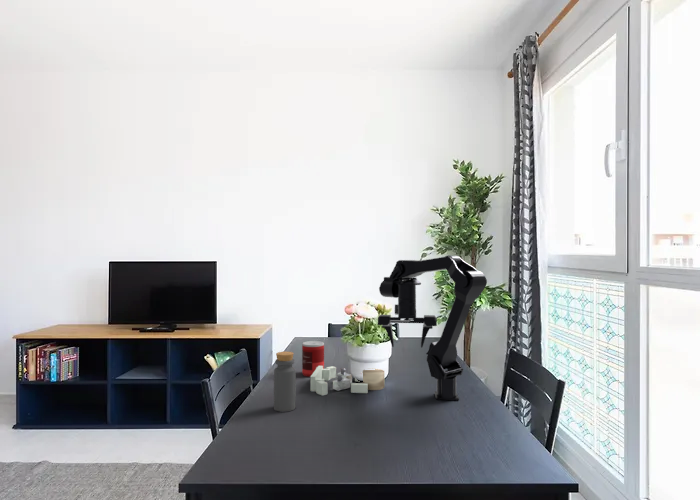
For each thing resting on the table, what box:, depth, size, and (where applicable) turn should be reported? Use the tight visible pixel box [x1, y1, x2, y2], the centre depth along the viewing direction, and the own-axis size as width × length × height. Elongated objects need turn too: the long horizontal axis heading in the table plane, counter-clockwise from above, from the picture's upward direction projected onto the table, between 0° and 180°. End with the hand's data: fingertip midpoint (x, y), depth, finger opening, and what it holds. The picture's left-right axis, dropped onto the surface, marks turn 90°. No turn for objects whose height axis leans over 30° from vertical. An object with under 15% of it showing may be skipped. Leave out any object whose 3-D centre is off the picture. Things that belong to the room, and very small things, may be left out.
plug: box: [362, 368, 386, 391], centre depth 142 cm, size 7×7×5 cm
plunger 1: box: [332, 374, 351, 391], centre depth 139 cm, size 5×2×4 cm, turn 129°
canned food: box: [301, 340, 325, 378], centre depth 157 cm, size 8×8×11 cm
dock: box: [309, 366, 369, 396], centre depth 143 cm, size 22×18×4 cm
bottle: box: [273, 351, 297, 413], centre depth 121 cm, size 6×6×15 cm
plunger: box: [336, 367, 353, 384], centre depth 146 cm, size 5×2×4 cm, turn 39°
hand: (407, 346), depth 144 cm, fingers open, 9 cm apart
